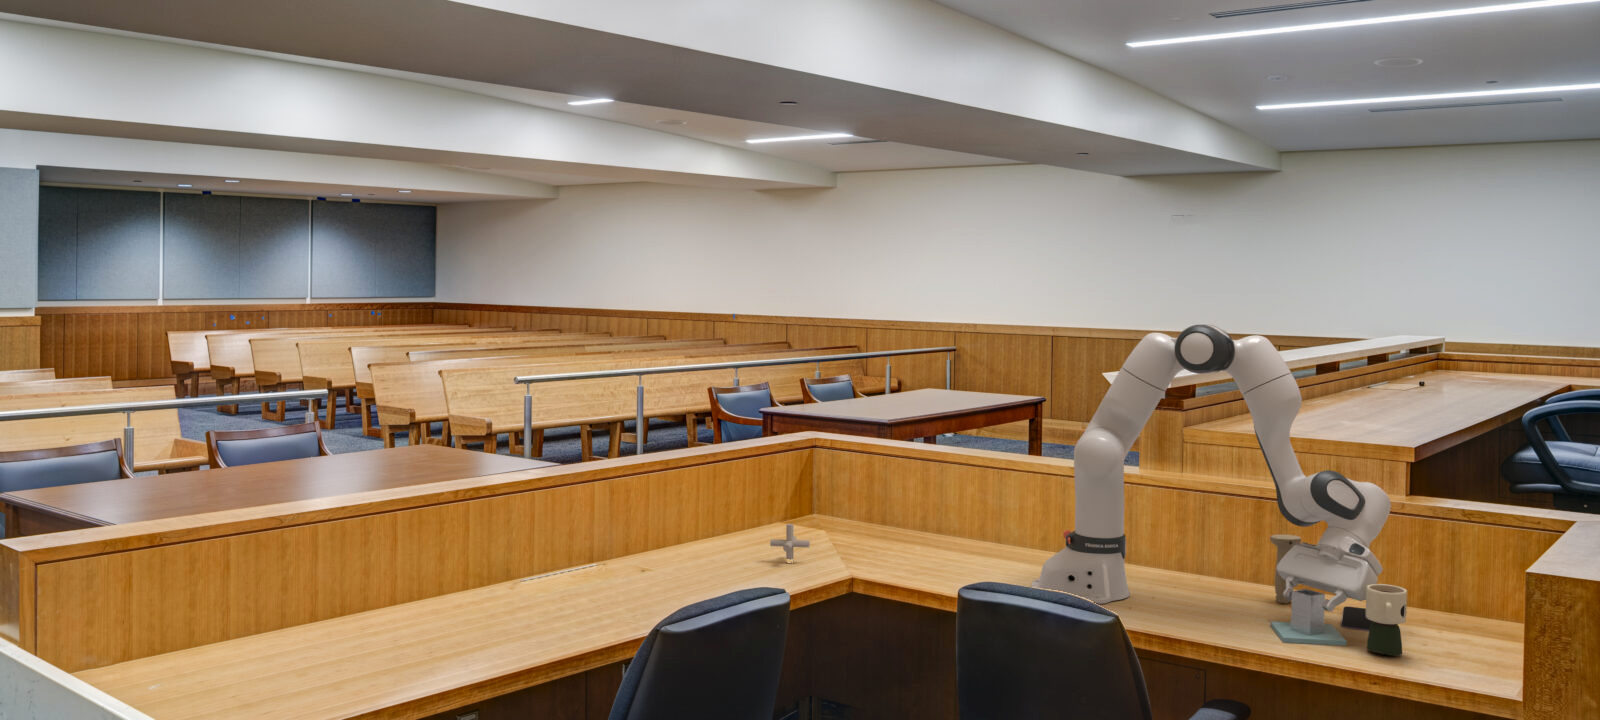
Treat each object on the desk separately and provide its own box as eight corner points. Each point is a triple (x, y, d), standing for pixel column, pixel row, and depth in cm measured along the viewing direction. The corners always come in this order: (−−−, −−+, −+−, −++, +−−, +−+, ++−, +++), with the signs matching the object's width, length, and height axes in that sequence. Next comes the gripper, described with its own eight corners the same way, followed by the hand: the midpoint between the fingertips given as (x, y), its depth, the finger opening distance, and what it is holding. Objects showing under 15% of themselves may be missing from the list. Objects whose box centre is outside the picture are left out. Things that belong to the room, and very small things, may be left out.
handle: (1302, 604, 259) (1304, 539, 257) (1274, 605, 258) (1276, 539, 257) (1292, 598, 263) (1294, 534, 262) (1264, 599, 263) (1266, 534, 262)
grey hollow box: (1304, 626, 239) (1305, 588, 239) (1323, 632, 235) (1325, 594, 235) (1290, 629, 237) (1292, 591, 237) (1309, 635, 233) (1311, 596, 233)
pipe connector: (806, 568, 290) (806, 529, 289) (767, 566, 292) (767, 528, 291) (811, 558, 300) (811, 521, 299) (774, 557, 301) (774, 519, 301)
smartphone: (1340, 626, 242) (1343, 605, 255) (1340, 631, 242) (1343, 610, 255) (1379, 631, 239) (1380, 610, 252) (1379, 636, 239) (1380, 615, 252)
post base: (1283, 642, 232) (1284, 608, 232) (1270, 626, 243) (1271, 593, 242) (1346, 645, 230) (1347, 611, 229) (1331, 629, 241) (1332, 596, 240)
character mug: (1408, 664, 219) (1410, 597, 218) (1366, 659, 222) (1369, 593, 221) (1401, 647, 229) (1403, 583, 228) (1361, 642, 232) (1364, 579, 231)
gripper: (1290, 531, 247) (1257, 582, 244) (1377, 552, 229) (1343, 606, 226) (1304, 549, 250) (1271, 599, 246) (1390, 571, 232) (1357, 625, 228)
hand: (1306, 603), depth 236 cm, fingers open, 8 cm apart
